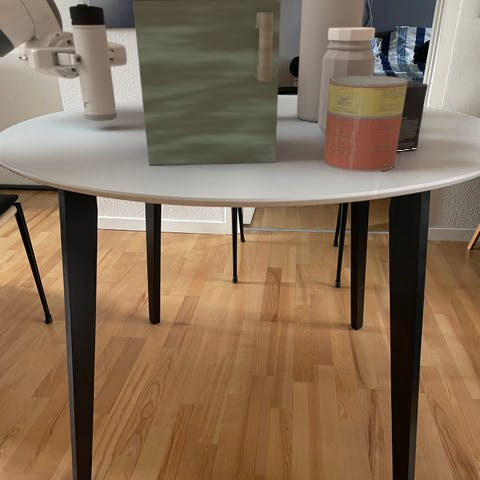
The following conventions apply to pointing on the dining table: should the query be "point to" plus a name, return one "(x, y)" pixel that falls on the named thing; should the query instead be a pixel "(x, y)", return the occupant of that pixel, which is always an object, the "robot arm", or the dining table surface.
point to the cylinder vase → (320, 46)
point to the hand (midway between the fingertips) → (95, 58)
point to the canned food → (363, 122)
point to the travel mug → (93, 62)
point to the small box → (412, 115)
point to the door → (209, 80)
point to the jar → (345, 60)
